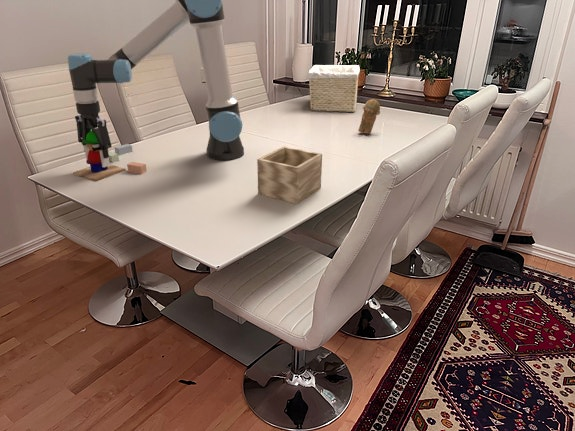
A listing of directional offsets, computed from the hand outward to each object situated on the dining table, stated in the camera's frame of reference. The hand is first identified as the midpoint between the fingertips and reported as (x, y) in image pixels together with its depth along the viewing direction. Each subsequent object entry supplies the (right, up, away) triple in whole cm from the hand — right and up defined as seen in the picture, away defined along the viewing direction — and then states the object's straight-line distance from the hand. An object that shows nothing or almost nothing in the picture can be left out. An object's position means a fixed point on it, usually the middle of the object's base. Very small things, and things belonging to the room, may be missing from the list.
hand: (98, 163), depth 174 cm
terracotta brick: (+14, -3, +2) cm, 14 cm away
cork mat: (0, -3, +1) cm, 3 cm away
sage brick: (0, +3, +13) cm, 14 cm away
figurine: (+107, +20, +49) cm, 119 cm away
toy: (+1, -2, +1) cm, 3 cm away
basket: (+95, +42, +95) cm, 141 cm away
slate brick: (+2, +7, +21) cm, 23 cm away
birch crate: (+70, -10, -13) cm, 72 cm away
